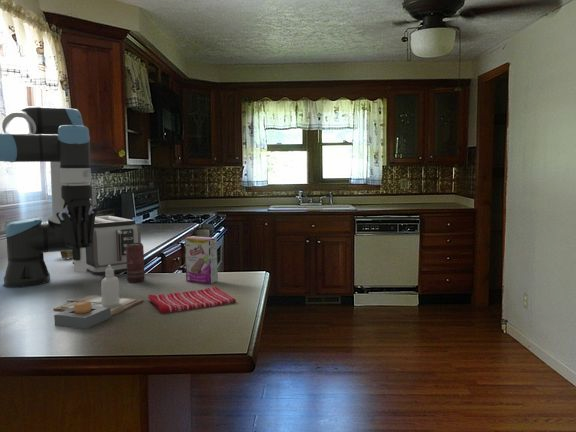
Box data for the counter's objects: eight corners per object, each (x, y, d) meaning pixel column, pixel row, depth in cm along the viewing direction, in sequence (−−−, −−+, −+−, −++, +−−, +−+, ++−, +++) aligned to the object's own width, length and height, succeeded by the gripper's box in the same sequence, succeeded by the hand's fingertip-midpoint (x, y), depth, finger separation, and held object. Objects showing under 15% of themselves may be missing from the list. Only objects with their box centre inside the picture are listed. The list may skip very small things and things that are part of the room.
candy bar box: (185, 281, 177) (184, 237, 175) (193, 278, 182) (192, 235, 180) (210, 284, 172) (209, 239, 171) (218, 281, 177) (217, 237, 175)
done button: (70, 315, 130) (70, 305, 130) (82, 311, 134) (81, 300, 134) (83, 317, 128) (83, 306, 128) (95, 312, 133) (94, 302, 132)
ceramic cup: (83, 258, 225) (82, 237, 224) (59, 260, 219) (58, 239, 218) (77, 254, 236) (76, 234, 235) (55, 256, 230) (54, 236, 229)
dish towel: (146, 301, 152) (146, 293, 152) (218, 292, 163) (217, 284, 163) (159, 316, 137) (158, 307, 137) (236, 304, 148) (236, 296, 148)
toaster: (97, 277, 186) (95, 224, 184) (70, 264, 212) (67, 218, 210) (145, 270, 198) (143, 221, 196) (113, 258, 224) (111, 215, 222)
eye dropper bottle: (99, 304, 145) (97, 265, 144) (117, 300, 149) (116, 262, 148) (103, 307, 142) (101, 267, 141) (122, 304, 145) (121, 264, 144)
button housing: (54, 325, 128) (54, 314, 128) (81, 314, 138) (81, 304, 137) (85, 329, 125) (84, 317, 125) (110, 317, 135) (110, 307, 134)
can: (140, 283, 175) (138, 245, 174) (124, 282, 176) (122, 244, 175) (148, 279, 181) (146, 242, 180) (132, 278, 182) (131, 242, 181)
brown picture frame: (49, 310, 142) (49, 306, 142) (87, 296, 158) (87, 292, 158) (110, 316, 136) (110, 312, 136) (143, 301, 151) (143, 297, 151)
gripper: (69, 185, 120) (74, 278, 123) (104, 183, 133) (108, 267, 135) (45, 185, 123) (51, 275, 125) (82, 183, 135) (86, 265, 138)
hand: (80, 271), depth 130 cm, fingers closed
